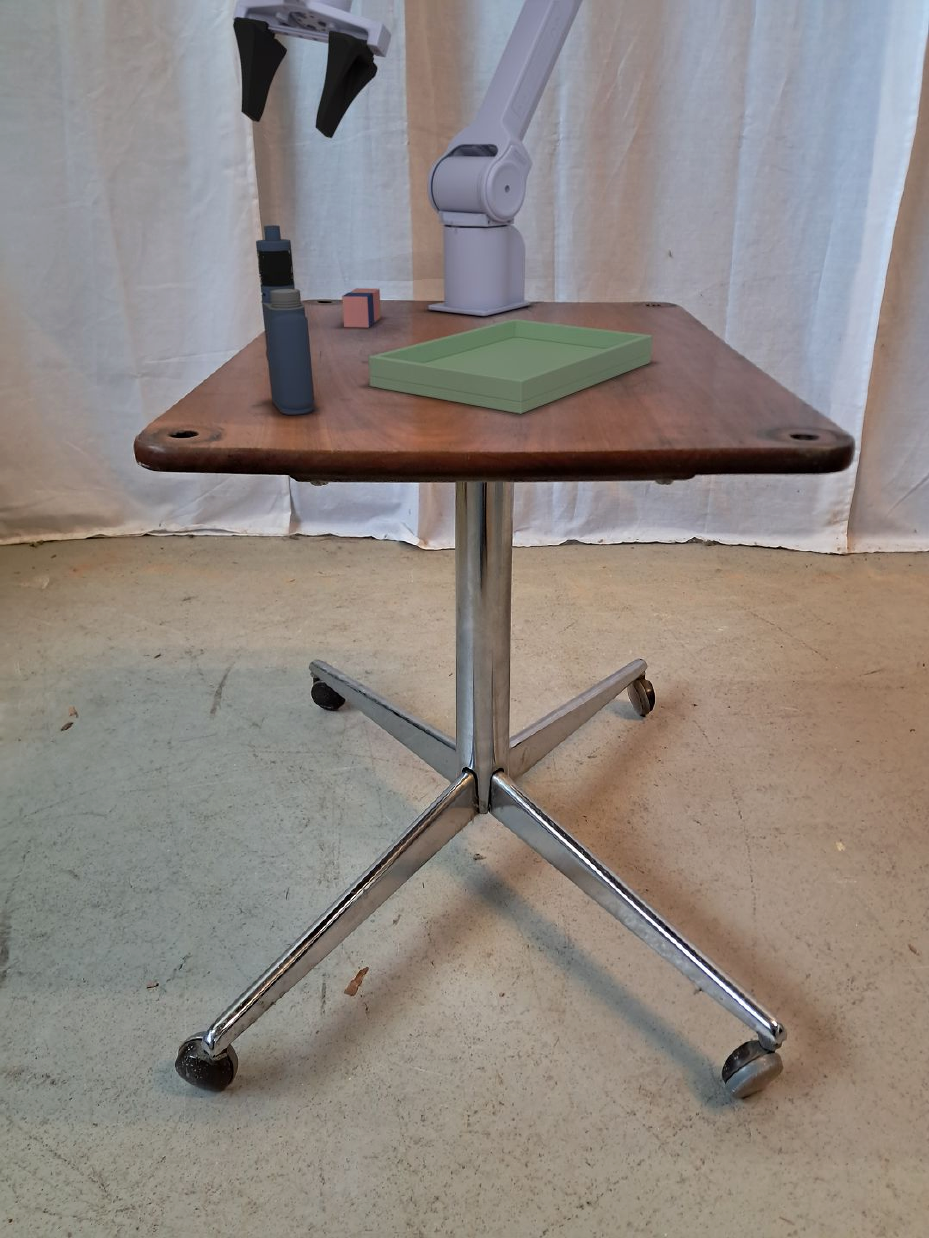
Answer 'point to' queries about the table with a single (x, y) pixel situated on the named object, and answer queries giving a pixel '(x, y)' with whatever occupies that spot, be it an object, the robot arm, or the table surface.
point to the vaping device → (284, 326)
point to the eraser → (361, 307)
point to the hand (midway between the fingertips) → (286, 125)
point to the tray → (510, 364)
